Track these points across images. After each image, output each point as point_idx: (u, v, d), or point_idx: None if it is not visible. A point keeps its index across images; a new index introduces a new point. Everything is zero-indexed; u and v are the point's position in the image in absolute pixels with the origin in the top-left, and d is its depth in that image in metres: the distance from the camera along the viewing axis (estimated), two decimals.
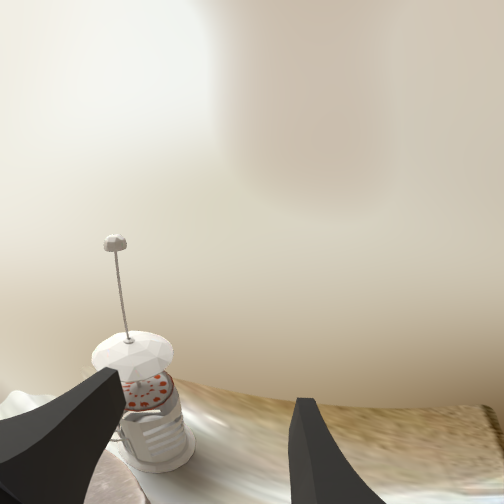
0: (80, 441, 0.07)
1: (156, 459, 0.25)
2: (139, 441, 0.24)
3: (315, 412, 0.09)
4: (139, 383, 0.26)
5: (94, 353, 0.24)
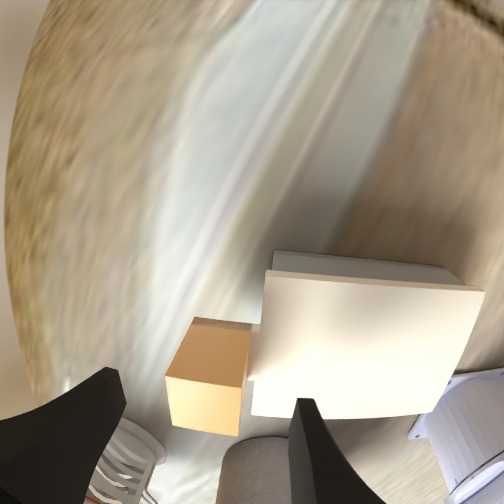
0: (80, 441, 0.07)
1: (148, 453, 0.23)
2: (142, 485, 0.20)
3: (315, 412, 0.09)
4: None
5: None
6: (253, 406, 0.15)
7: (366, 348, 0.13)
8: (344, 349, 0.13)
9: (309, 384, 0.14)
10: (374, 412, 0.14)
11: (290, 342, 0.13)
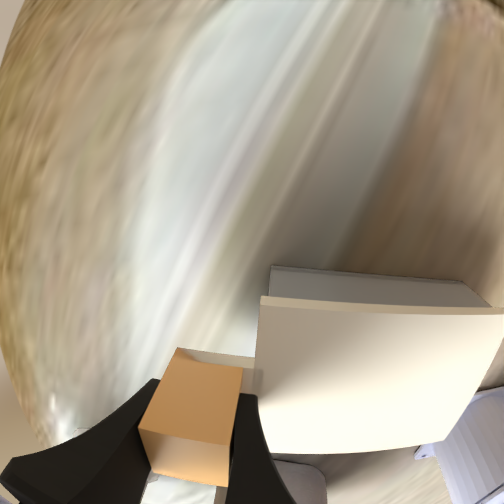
0: (134, 461, 0.07)
1: None
2: None
3: (253, 408, 0.09)
4: None
5: None
6: None
7: (379, 383, 0.11)
8: (353, 385, 0.11)
9: (311, 421, 0.12)
10: (383, 445, 0.12)
11: (290, 379, 0.11)
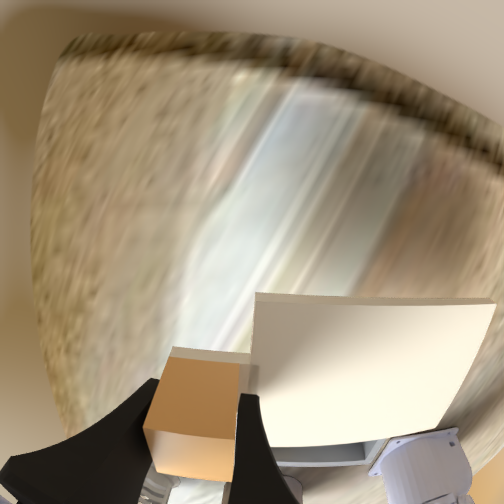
0: (132, 460, 0.07)
1: (166, 482, 0.28)
2: None
3: (255, 408, 0.09)
4: None
5: None
6: None
7: (371, 373, 0.11)
8: (346, 376, 0.11)
9: (307, 414, 0.12)
10: (376, 434, 0.13)
11: (286, 372, 0.11)
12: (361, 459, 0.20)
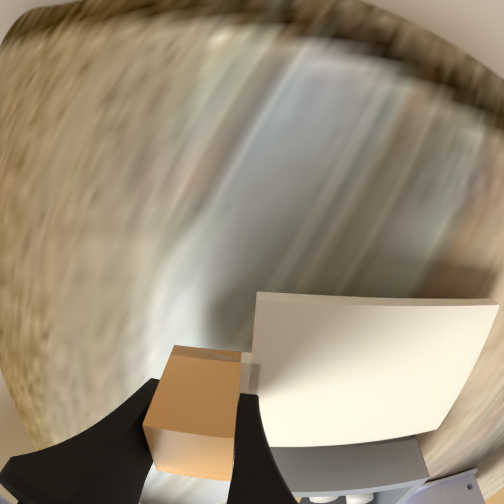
0: (133, 460, 0.07)
1: None
2: None
3: (254, 408, 0.09)
4: None
5: None
6: None
7: (373, 373, 0.11)
8: (348, 376, 0.11)
9: (308, 414, 0.12)
10: (378, 435, 0.13)
11: (287, 372, 0.11)
12: None
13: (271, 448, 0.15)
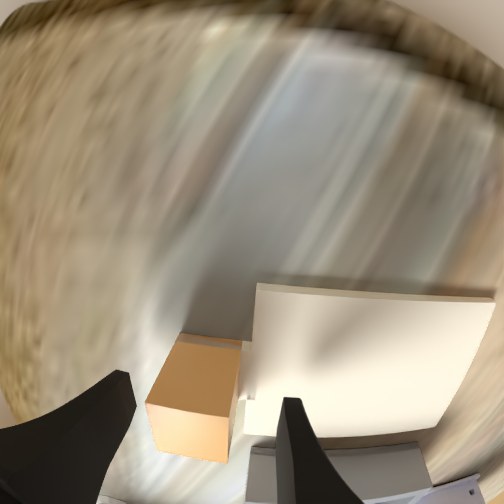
0: (92, 446, 0.07)
1: None
2: None
3: (301, 411, 0.09)
4: None
5: None
6: (245, 425, 0.13)
7: (368, 366, 0.12)
8: (344, 367, 0.12)
9: (305, 403, 0.13)
10: (375, 429, 0.13)
11: (285, 360, 0.12)
12: None
13: (270, 459, 0.14)
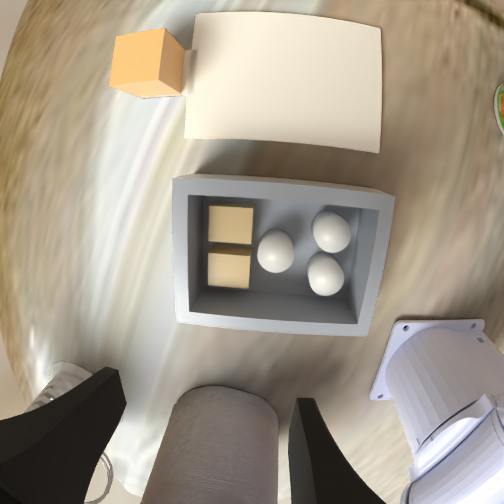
0: (80, 441, 0.07)
1: None
2: None
3: (315, 412, 0.09)
4: None
5: None
6: (186, 125, 0.16)
7: (278, 57, 0.15)
8: (258, 57, 0.15)
9: (233, 92, 0.16)
10: (307, 134, 0.16)
11: (214, 53, 0.15)
12: (351, 323, 0.16)
13: (209, 175, 0.17)
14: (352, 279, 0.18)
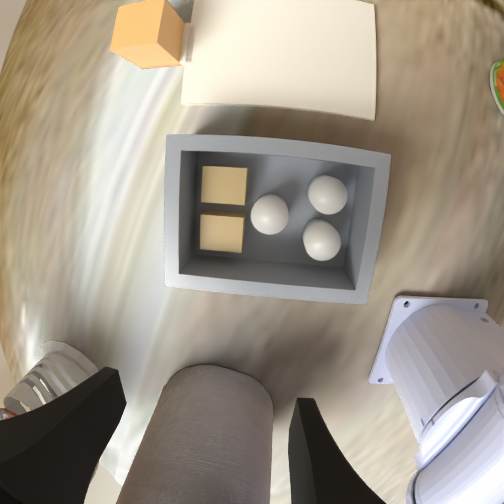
0: (80, 441, 0.07)
1: None
2: None
3: (315, 412, 0.09)
4: None
5: None
6: (183, 92, 0.16)
7: (274, 28, 0.14)
8: (255, 28, 0.14)
9: (230, 61, 0.15)
10: (302, 100, 0.16)
11: (212, 25, 0.14)
12: (349, 289, 0.15)
13: None
14: (349, 247, 0.17)
